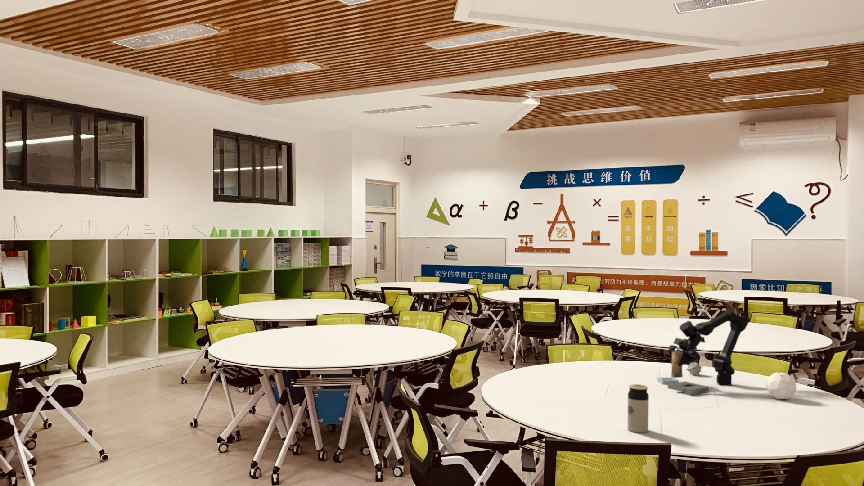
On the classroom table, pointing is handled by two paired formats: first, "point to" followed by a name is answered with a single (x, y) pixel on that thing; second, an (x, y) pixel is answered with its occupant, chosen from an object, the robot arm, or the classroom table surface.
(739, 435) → the classroom table surface
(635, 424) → the travel mug
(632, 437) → the classroom table surface
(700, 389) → the hub plate
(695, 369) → the spiky grey ball
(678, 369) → the knob
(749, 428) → the classroom table surface
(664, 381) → the rest block
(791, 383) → the geodesic sphere
